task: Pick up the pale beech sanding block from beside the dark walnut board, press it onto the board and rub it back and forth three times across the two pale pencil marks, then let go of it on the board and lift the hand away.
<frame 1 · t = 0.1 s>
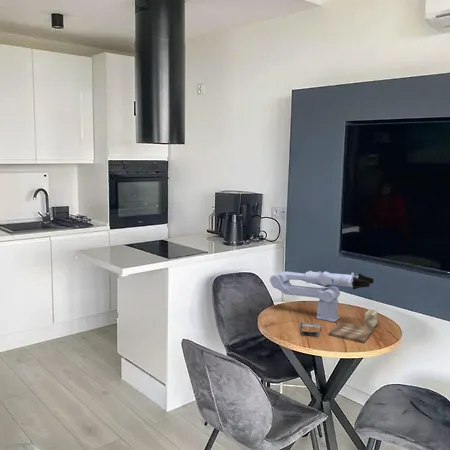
hand: (371, 282, 224), 22 cm above the table, tool horizontal, fingers open, 7 cm apart
sanding block: (370, 326, 228), on the table
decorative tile: (309, 332, 220), on the table
walnut board: (351, 333, 218), on the table
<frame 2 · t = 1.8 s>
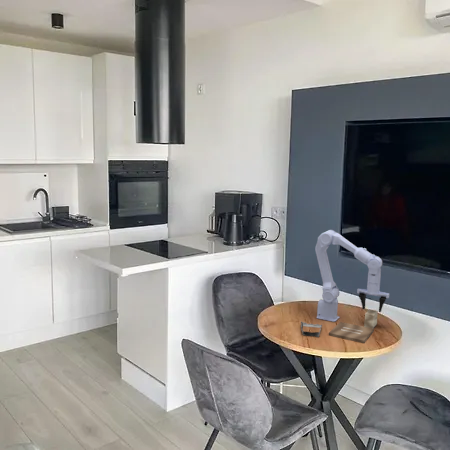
hand: (371, 310, 227), 8 cm above the table, tool pointing down, fingers open, 7 cm apart
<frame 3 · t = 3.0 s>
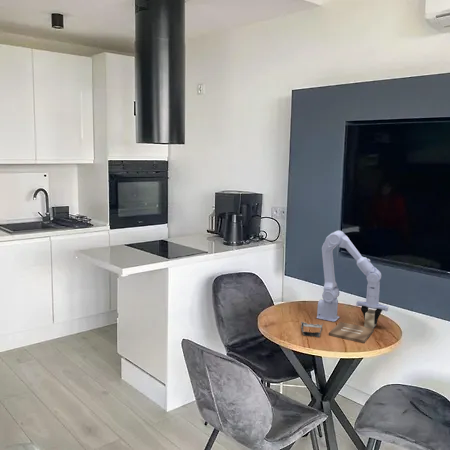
hand: (370, 322, 228), 2 cm above the table, tool pointing down, fingers closed on sanding block, 4 cm apart
sanding block: (370, 326, 228), on the table, touching gripper
everything else where it was.
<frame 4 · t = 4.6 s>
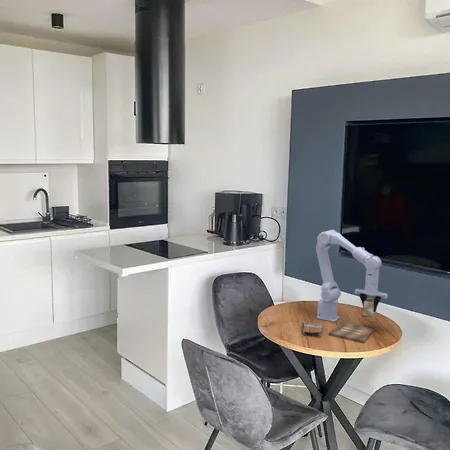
hand: (369, 310, 223), 9 cm above the table, tool pointing down, fingers closed on sanding block, 4 cm apart
sanding block: (369, 314, 224), point 7 cm above the table, touching gripper
everything else where it was.
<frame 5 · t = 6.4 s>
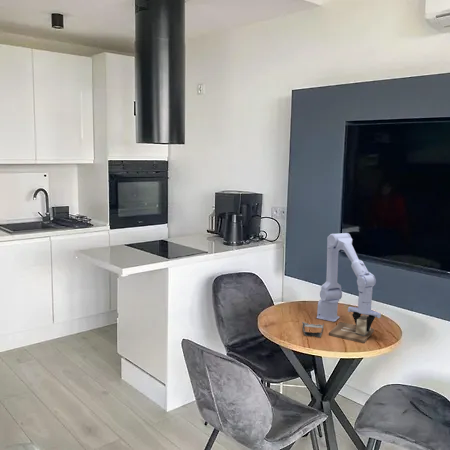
hand: (362, 329, 215), 3 cm above the table, tool pointing down, fingers closed on sanding block, 4 cm apart
sanding block: (362, 332, 216), point 1 cm above the table, touching gripper, walnut board
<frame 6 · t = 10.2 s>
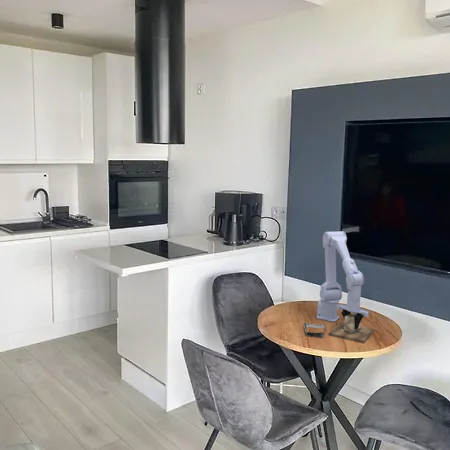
hand: (351, 327, 218), 3 cm above the table, tool pointing down, fingers closed on sanding block, 4 cm apart
sanding block: (352, 330, 218), point 1 cm above the table, touching gripper
when the fingers open (3 cm above the table, at t = 13.8 s): sanding block stays where it is, resting on walnut board.
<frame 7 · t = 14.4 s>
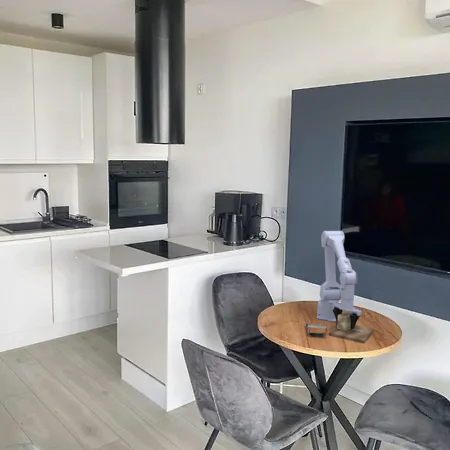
hand: (345, 326, 219), 3 cm above the table, tool pointing down, fingers open, 7 cm apart
sanding block: (345, 329, 220), point 1 cm above the table, touching walnut board
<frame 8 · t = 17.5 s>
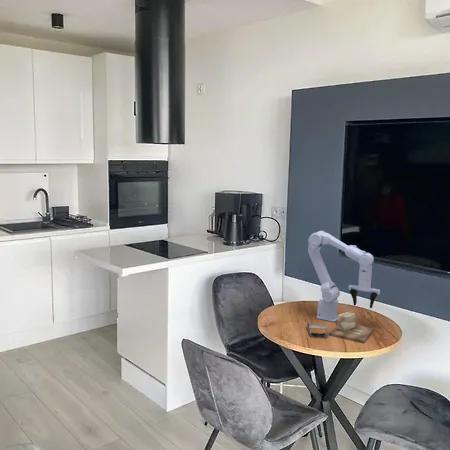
hand: (362, 306, 228), 9 cm above the table, tool pointing down, fingers open, 7 cm apart
at the end: sanding block 0.5 cm from the target spot, point 1.3 cm above the table; sanding block tilted 0°; the gripper is holding nothing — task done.
